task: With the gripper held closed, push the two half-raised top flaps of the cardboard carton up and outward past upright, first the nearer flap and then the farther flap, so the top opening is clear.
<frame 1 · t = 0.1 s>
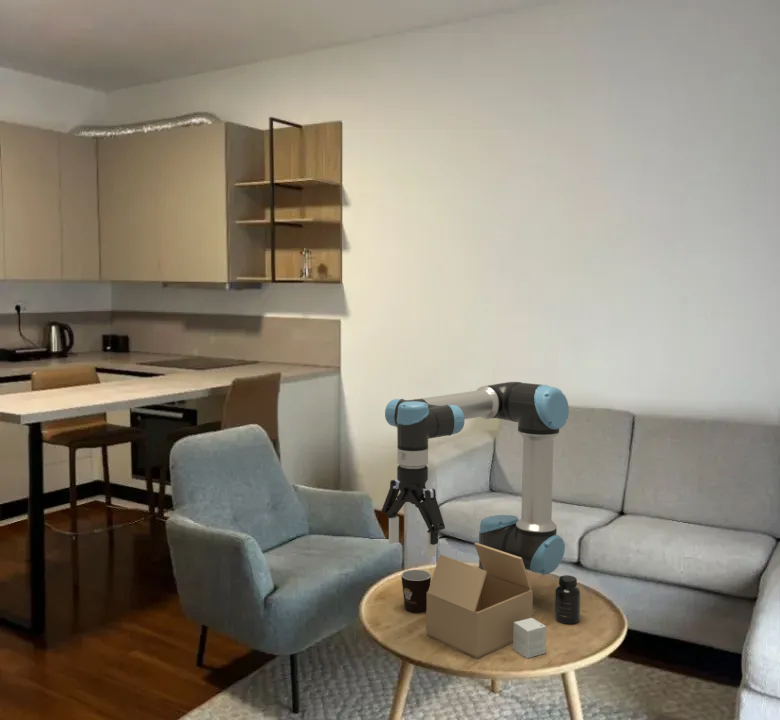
hand: (412, 549, 198), 28 cm above the table, tool pointing down, fingers open, 13 cm apart
flap 2: (502, 565, 219), point 17 cm above the table, hinge at 65.0°
carton: (479, 634, 214), on the table
supplement bottle: (567, 620, 224), on the table
coffee mug: (418, 611, 230), on the table
product box: (529, 652, 205), on the table
flap 1: (456, 582, 207), point 17 cm above the table, hinge at 65.0°
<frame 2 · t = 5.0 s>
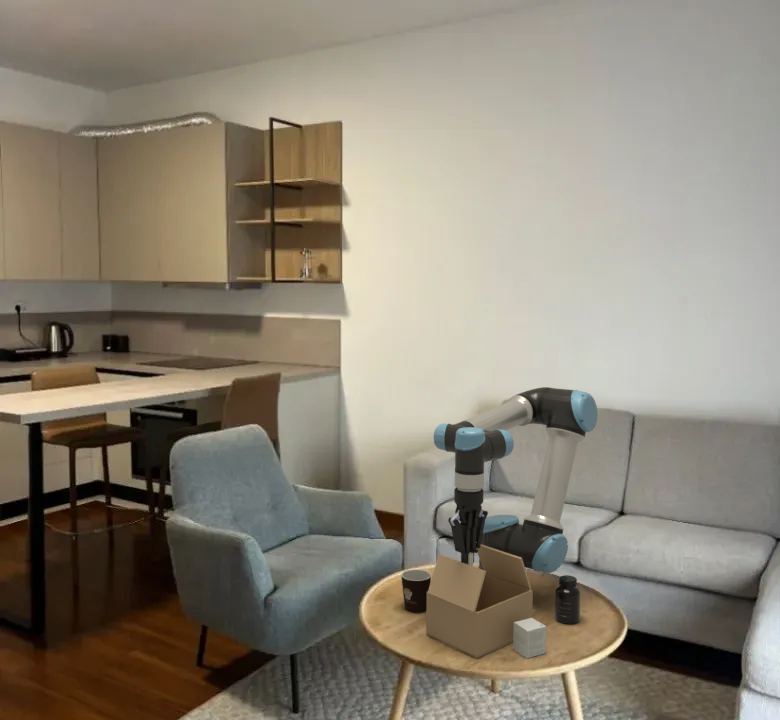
hand: (467, 576, 209), 17 cm above the table, tool pointing down, fingers closed
flap 1: (456, 582, 206), point 17 cm above the table, hinge at 67.0°, touching gripper
everything else where it was.
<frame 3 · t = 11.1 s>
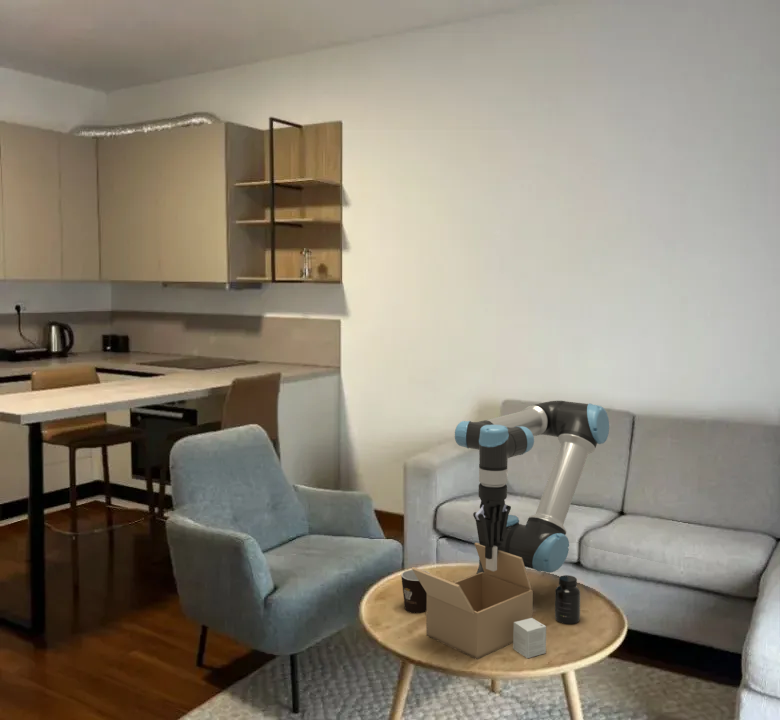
hand: (491, 569, 216), 17 cm above the table, tool pointing down, fingers closed
flap 2: (502, 565, 219), point 17 cm above the table, hinge at 65.4°, touching gripper
flap 1: (442, 590, 203), point 16 cm above the table, hinge at 124.5°
everything else where it was.
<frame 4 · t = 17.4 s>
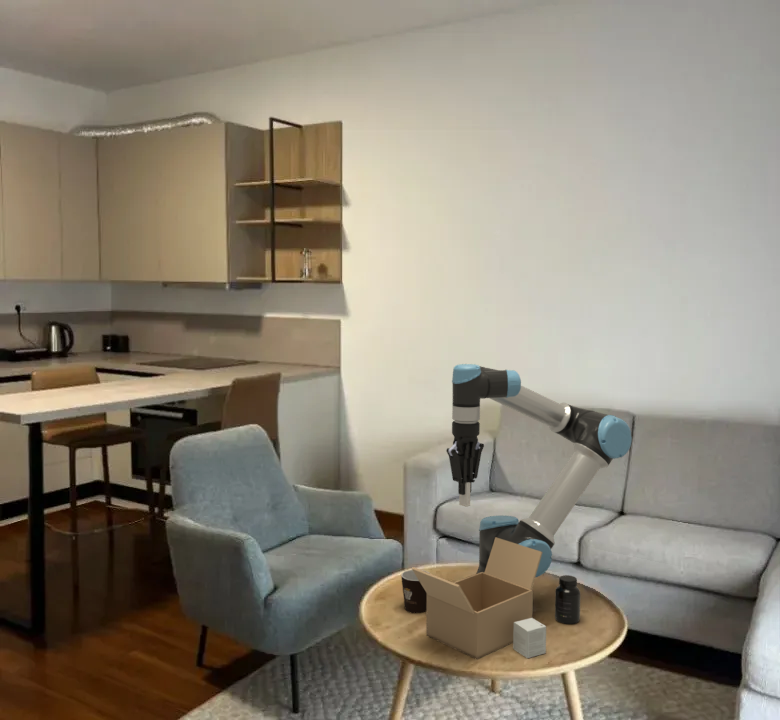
hand: (464, 505, 221), 32 cm above the table, tool pointing down, fingers closed
flap 2: (512, 562, 222), point 17 cm above the table, hinge at 115.8°, touching arm
everything else where it was.
at the end: flap 1 at +124° (first picture: +65°); flap 2 at +116° (first picture: +65°) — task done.
